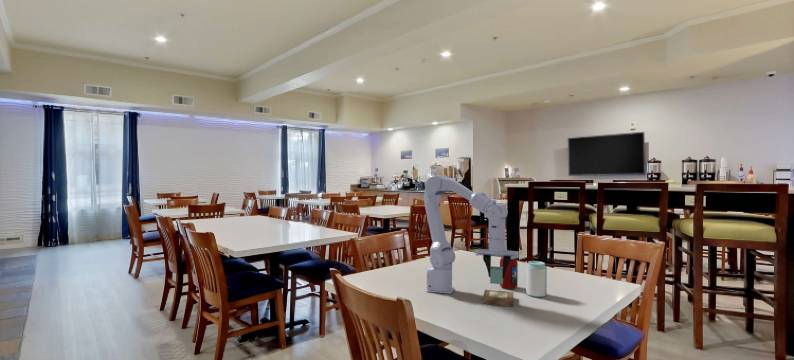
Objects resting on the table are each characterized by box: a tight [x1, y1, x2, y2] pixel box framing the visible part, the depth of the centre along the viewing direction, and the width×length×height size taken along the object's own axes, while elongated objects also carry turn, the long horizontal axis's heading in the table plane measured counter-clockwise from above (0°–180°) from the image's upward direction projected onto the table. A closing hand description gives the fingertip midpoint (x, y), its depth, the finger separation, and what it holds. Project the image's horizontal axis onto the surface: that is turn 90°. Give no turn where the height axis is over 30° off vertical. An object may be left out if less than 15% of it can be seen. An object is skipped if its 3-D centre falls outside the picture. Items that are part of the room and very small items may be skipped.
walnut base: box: [482, 289, 514, 307], centre depth 135 cm, size 10×10×2 cm
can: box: [525, 260, 548, 298], centre depth 142 cm, size 7×7×12 cm
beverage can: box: [499, 257, 519, 290], centre depth 151 cm, size 7×7×12 cm
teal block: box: [489, 265, 503, 285], centre depth 134 cm, size 4×4×5 cm
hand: (496, 277), depth 135 cm, fingers closed on teal block, 4 cm apart
